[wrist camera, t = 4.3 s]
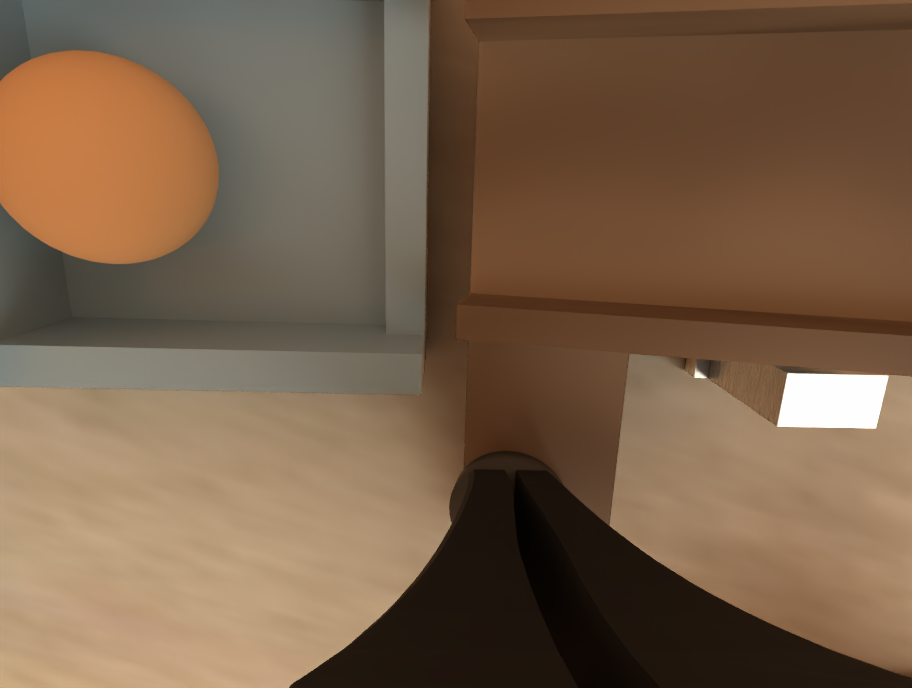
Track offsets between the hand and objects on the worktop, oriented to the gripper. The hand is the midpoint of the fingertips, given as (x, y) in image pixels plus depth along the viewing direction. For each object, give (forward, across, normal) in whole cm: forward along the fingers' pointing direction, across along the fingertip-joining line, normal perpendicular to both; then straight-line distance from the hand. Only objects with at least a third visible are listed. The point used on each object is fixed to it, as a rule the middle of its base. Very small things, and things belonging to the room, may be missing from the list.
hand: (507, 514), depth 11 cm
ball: (+1, +7, -6) cm, 10 cm away
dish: (+3, +6, -6) cm, 9 cm away
